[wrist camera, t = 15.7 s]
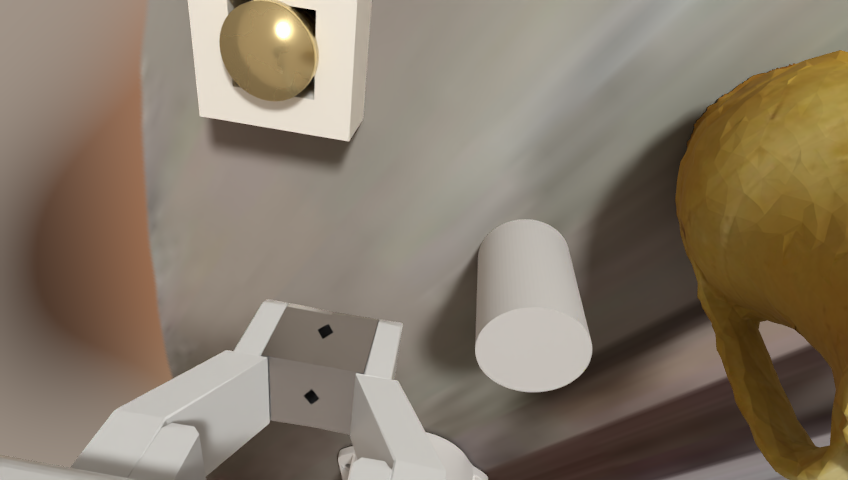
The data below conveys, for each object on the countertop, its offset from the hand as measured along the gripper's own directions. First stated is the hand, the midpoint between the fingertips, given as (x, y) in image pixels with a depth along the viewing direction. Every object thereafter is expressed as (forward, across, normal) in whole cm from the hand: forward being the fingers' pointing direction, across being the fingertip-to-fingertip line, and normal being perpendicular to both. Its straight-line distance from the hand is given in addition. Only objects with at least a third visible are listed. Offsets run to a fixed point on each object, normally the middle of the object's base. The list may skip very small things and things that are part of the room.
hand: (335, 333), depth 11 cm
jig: (+31, +11, +1) cm, 33 cm away
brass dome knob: (+31, +11, +1) cm, 32 cm away
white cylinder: (+31, -10, +17) cm, 37 cm away
